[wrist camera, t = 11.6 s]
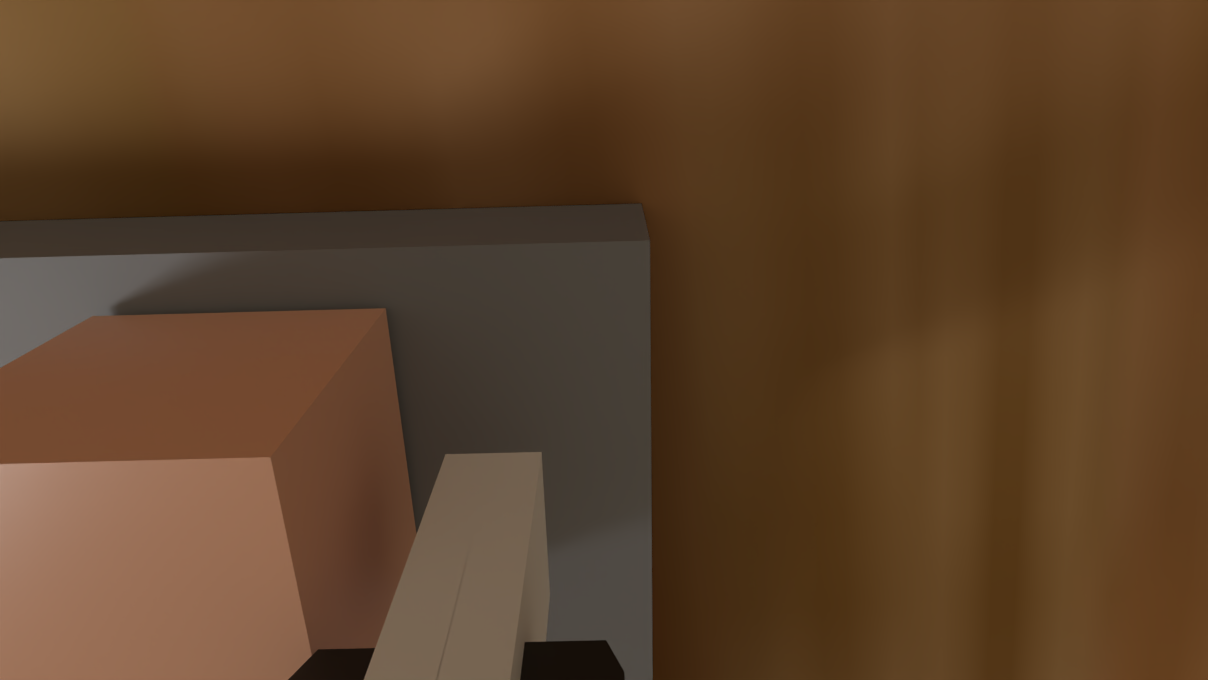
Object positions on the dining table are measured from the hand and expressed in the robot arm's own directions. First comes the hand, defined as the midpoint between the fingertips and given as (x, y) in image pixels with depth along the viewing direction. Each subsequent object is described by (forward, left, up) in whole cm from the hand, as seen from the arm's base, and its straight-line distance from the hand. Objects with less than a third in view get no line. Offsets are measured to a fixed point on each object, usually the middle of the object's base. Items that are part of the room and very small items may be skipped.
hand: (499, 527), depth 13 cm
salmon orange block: (-4, 0, -2) cm, 5 cm away
